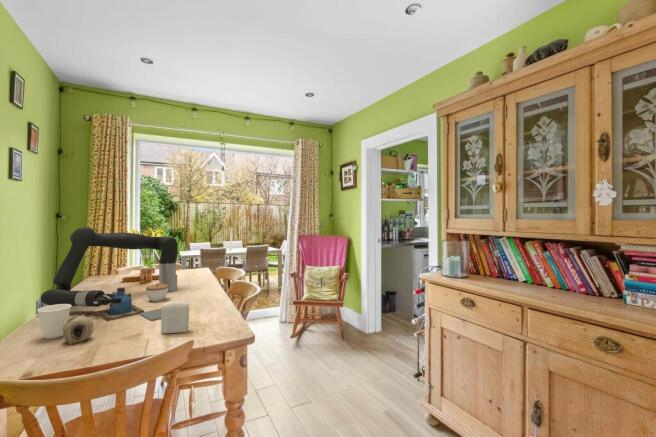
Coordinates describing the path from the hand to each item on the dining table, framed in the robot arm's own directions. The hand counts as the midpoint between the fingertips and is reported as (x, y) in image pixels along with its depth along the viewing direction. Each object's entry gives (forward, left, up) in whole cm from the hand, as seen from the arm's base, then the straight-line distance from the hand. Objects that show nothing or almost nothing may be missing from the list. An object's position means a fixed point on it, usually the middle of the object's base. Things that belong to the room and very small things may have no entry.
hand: (125, 298), depth 148 cm
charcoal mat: (-11, +13, -7) cm, 18 cm away
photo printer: (-5, +40, -7) cm, 41 cm away
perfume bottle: (+1, -2, -7) cm, 8 cm away
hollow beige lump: (+22, +22, -7) cm, 32 cm away
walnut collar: (+1, -2, -7) cm, 7 cm away
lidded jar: (-20, -13, -7) cm, 24 cm away
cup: (+27, +10, -7) cm, 30 cm away
